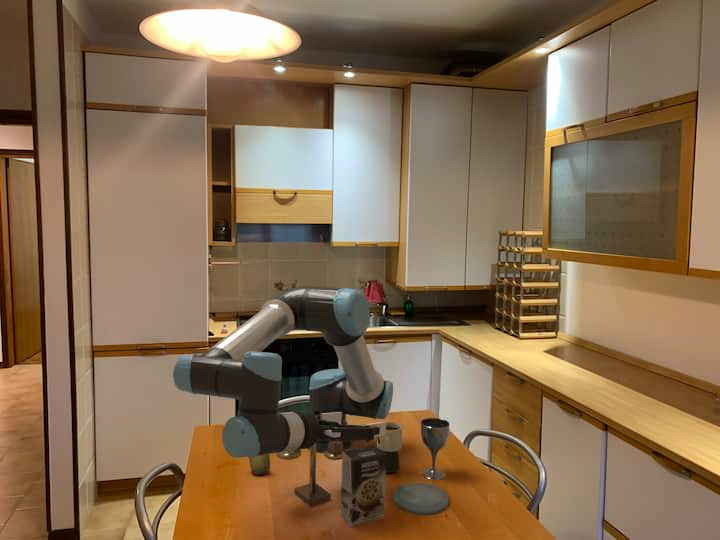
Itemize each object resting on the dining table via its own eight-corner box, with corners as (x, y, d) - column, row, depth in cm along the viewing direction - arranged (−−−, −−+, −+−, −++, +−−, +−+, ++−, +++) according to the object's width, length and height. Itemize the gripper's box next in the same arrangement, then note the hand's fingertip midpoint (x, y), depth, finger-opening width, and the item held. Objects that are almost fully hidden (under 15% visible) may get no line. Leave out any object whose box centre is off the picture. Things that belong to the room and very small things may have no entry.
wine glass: (446, 482, 154) (448, 429, 152) (417, 478, 155) (419, 426, 154) (448, 469, 161) (450, 419, 160) (420, 466, 163) (422, 416, 162)
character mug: (379, 461, 166) (380, 418, 165) (403, 463, 165) (404, 420, 164) (372, 477, 156) (373, 431, 154) (398, 480, 154) (399, 434, 153)
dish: (382, 496, 145) (382, 491, 145) (422, 482, 153) (422, 477, 153) (418, 520, 134) (419, 515, 134) (460, 503, 142) (460, 498, 142)
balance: (270, 501, 141) (270, 433, 140) (336, 480, 153) (337, 418, 152) (285, 514, 135) (286, 444, 133) (353, 492, 147) (354, 427, 145)
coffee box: (351, 527, 130) (353, 460, 129) (339, 514, 136) (340, 450, 134) (385, 518, 134) (387, 453, 133) (372, 506, 140) (374, 443, 138)
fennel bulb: (246, 472, 157) (246, 430, 156) (260, 466, 161) (260, 426, 160) (259, 478, 153) (259, 436, 152) (273, 473, 157) (273, 431, 156)
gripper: (253, 437, 122) (322, 429, 138) (336, 463, 106) (403, 450, 121) (257, 402, 123) (325, 398, 139) (339, 423, 106) (406, 415, 122)
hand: (361, 422), depth 130 cm, fingers open, 13 cm apart
